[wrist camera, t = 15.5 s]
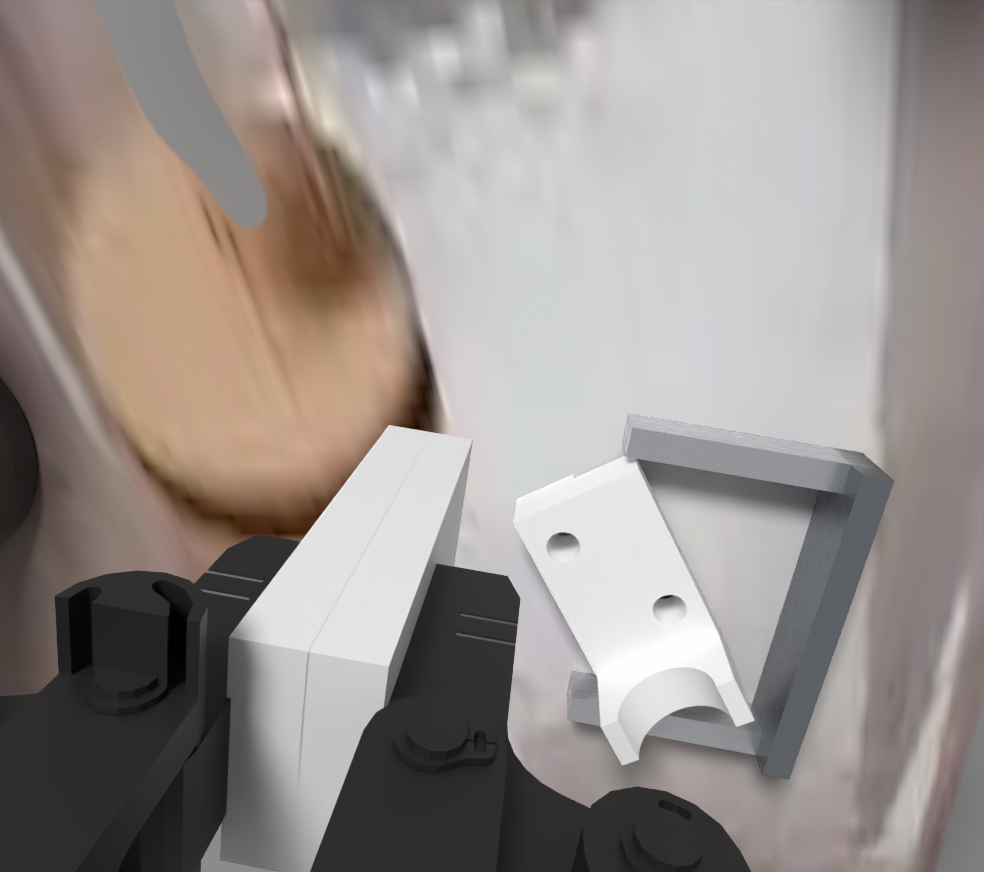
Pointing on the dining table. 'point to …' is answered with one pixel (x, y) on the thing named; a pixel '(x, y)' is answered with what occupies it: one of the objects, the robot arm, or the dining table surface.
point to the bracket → (629, 601)
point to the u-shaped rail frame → (812, 593)
